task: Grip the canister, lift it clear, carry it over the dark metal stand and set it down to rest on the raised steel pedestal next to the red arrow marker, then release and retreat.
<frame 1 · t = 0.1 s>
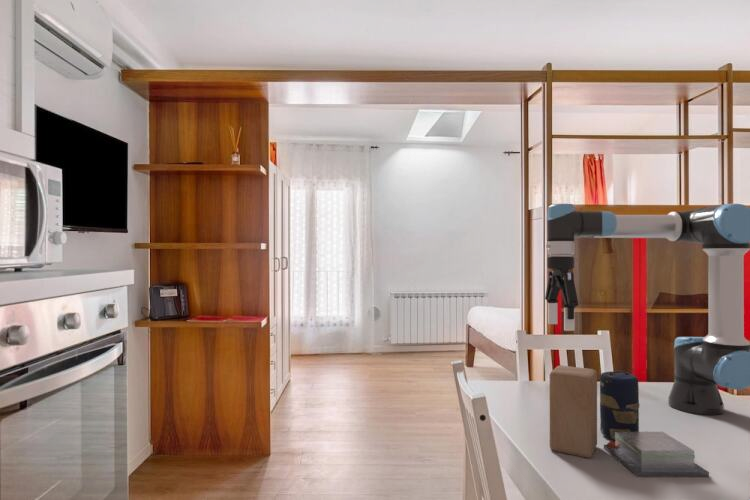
hand: (560, 327, 146), 28 cm above the table, fingers open, 13 cm apart
stand: (652, 461, 118), on the table
canister: (619, 437, 134), on the table
block: (573, 449, 125), on the table
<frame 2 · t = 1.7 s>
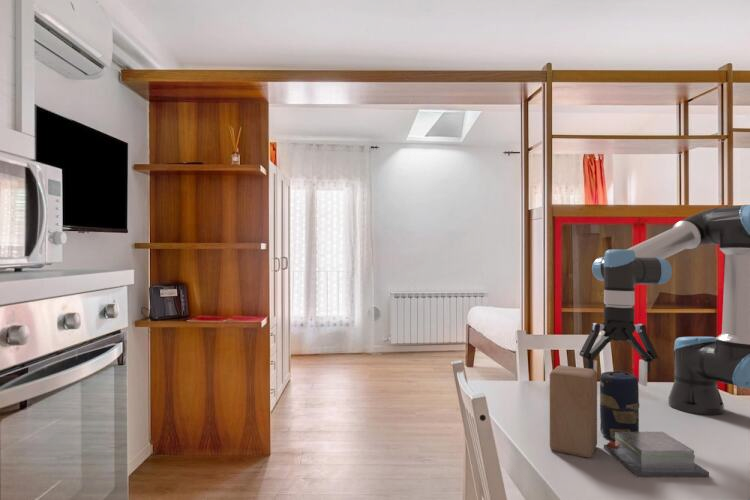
hand: (618, 384, 134), 14 cm above the table, fingers open, 13 cm apart
nothing on the table moved.
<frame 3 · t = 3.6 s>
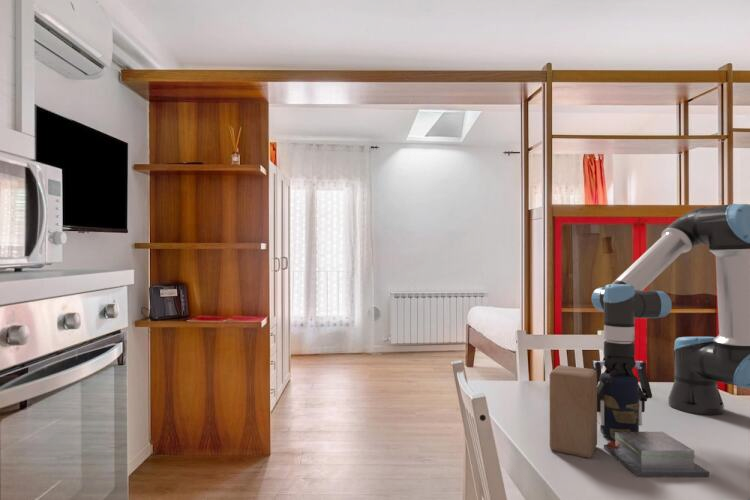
hand: (619, 423, 134), 4 cm above the table, fingers closed on canister, 9 cm apart
canister: (619, 437, 134), on the table, touching gripper
everything else where it was.
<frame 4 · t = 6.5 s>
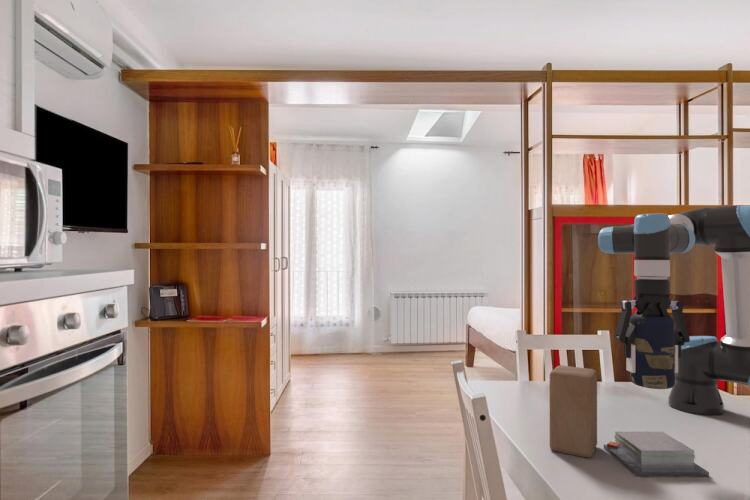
hand: (652, 371, 118), 21 cm above the table, fingers closed on canister, 9 cm apart
canister: (651, 387, 118), point 18 cm above the table, touching gripper
everything else where it was.
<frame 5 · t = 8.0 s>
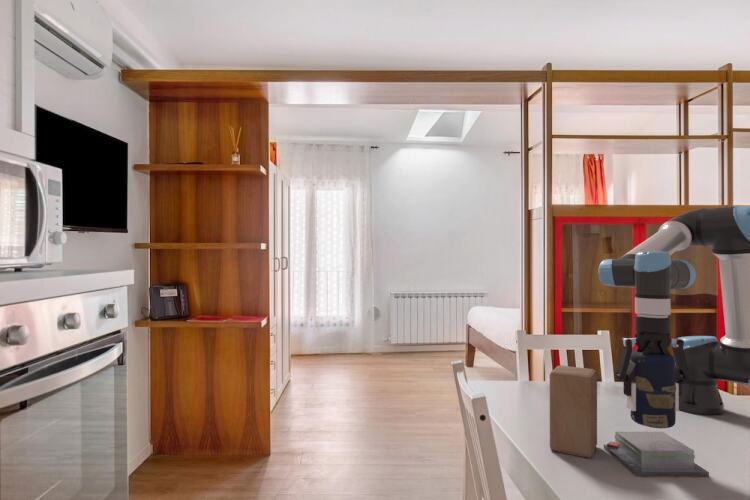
hand: (652, 409, 118), 12 cm above the table, fingers closed on canister, 9 cm apart
canister: (652, 425, 118), point 9 cm above the table, touching gripper
everything else where it was.
when the fingers open (10 cm above the table, at t = 9.5 s): canister drops 1 cm, resting on stand.
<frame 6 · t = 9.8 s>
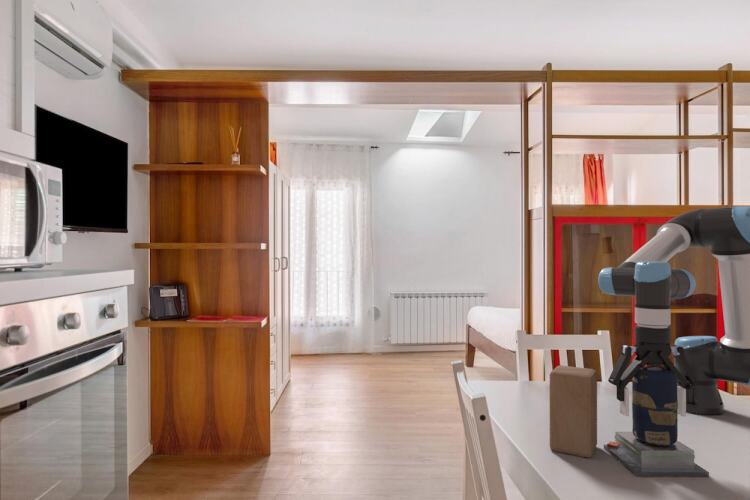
hand: (652, 414, 118), 11 cm above the table, fingers open, 13 cm apart
canister: (654, 441, 118), point 5 cm above the table, touching stand
everything else where it was.
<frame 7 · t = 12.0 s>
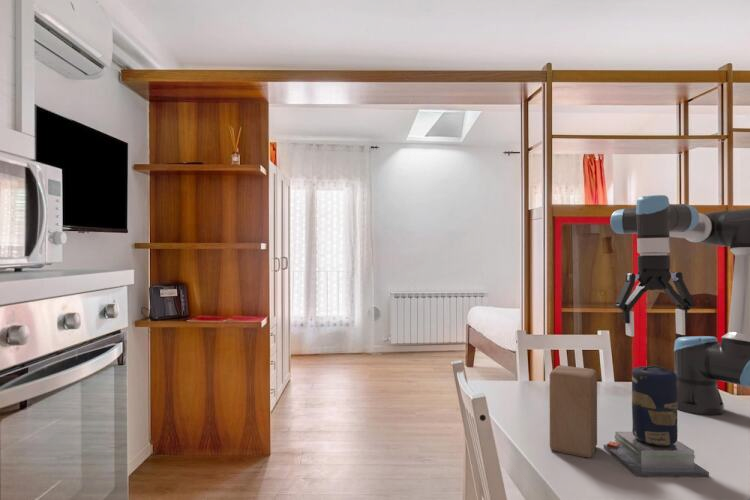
hand: (655, 335, 130), 28 cm above the table, fingers open, 13 cm apart
nothing on the table moved.
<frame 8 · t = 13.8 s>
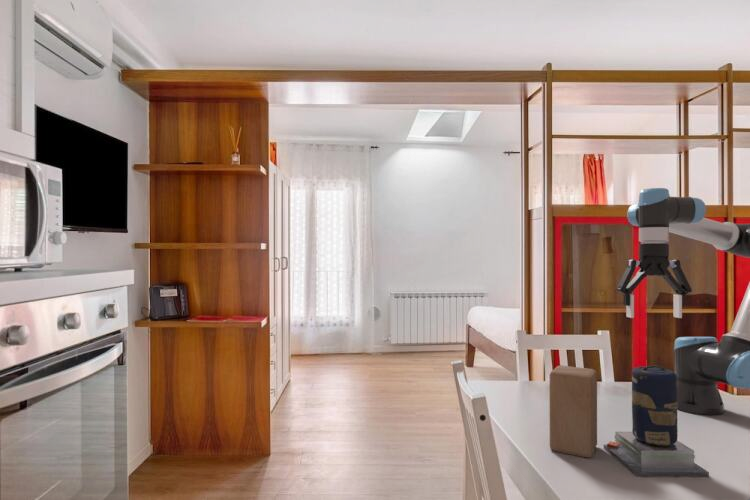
hand: (653, 317, 140), 32 cm above the table, fingers open, 13 cm apart
nothing on the table moved.
at the end: canister inside the target area on the stand (0.4 cm from its centre), point 4.8 cm above the stand's base; canister touching stand; canister tilted 0° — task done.
